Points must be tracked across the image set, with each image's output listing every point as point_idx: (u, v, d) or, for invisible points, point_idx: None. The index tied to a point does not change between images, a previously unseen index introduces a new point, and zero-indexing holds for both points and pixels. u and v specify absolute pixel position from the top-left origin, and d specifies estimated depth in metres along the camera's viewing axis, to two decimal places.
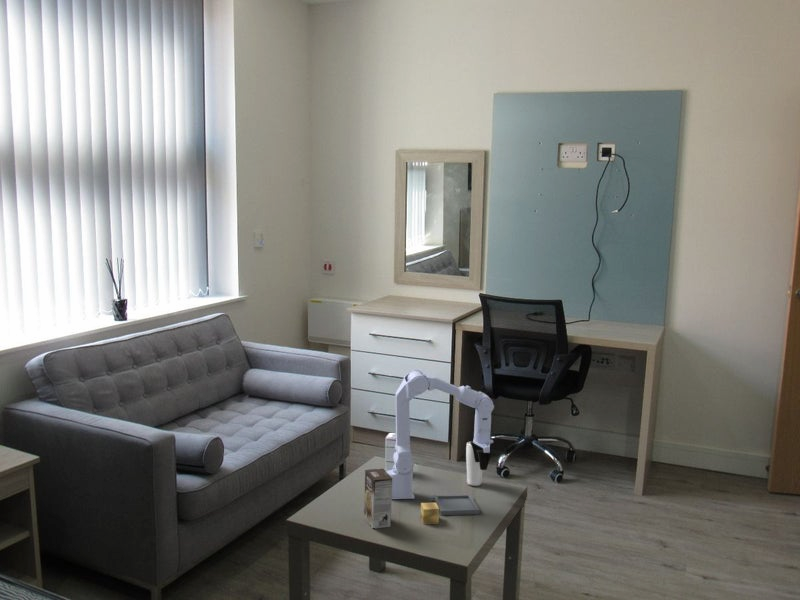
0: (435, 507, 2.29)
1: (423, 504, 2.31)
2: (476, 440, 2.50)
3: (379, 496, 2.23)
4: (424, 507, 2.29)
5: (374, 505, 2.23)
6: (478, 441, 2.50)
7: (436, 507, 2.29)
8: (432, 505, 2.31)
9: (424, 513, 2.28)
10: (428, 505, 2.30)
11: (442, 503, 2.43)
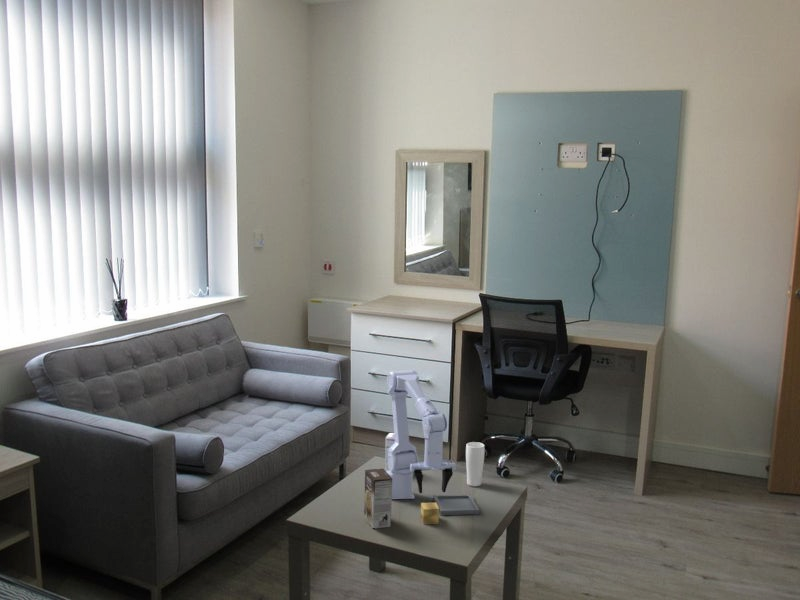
0: (435, 507, 2.29)
1: (423, 504, 2.31)
2: None
3: (379, 496, 2.23)
4: (424, 507, 2.29)
5: (374, 505, 2.23)
6: None
7: (436, 507, 2.29)
8: (432, 505, 2.31)
9: (424, 513, 2.28)
10: (428, 505, 2.30)
11: (442, 503, 2.43)
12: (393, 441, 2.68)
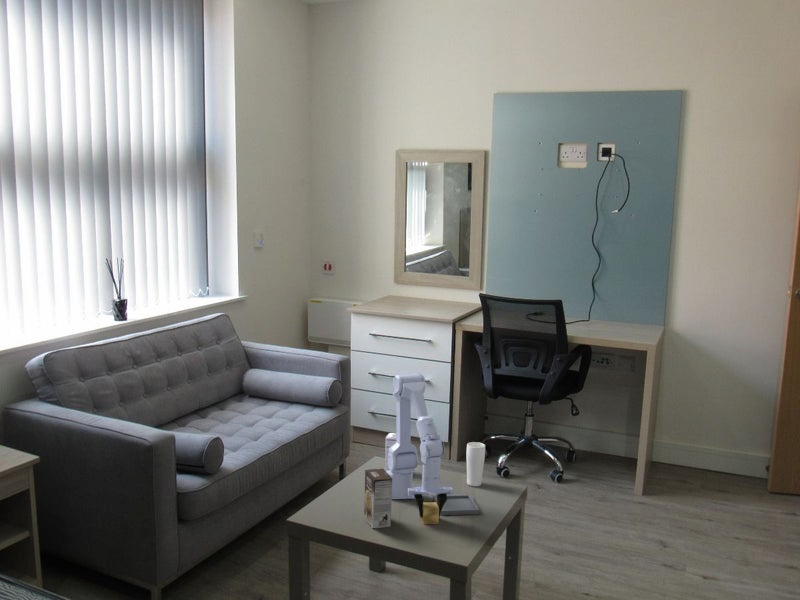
0: (435, 507, 2.29)
1: (423, 504, 2.31)
2: None
3: (379, 496, 2.23)
4: (424, 507, 2.29)
5: (374, 505, 2.23)
6: None
7: (436, 507, 2.29)
8: (432, 504, 2.31)
9: (424, 513, 2.28)
10: (428, 505, 2.30)
11: None
12: (393, 441, 2.68)
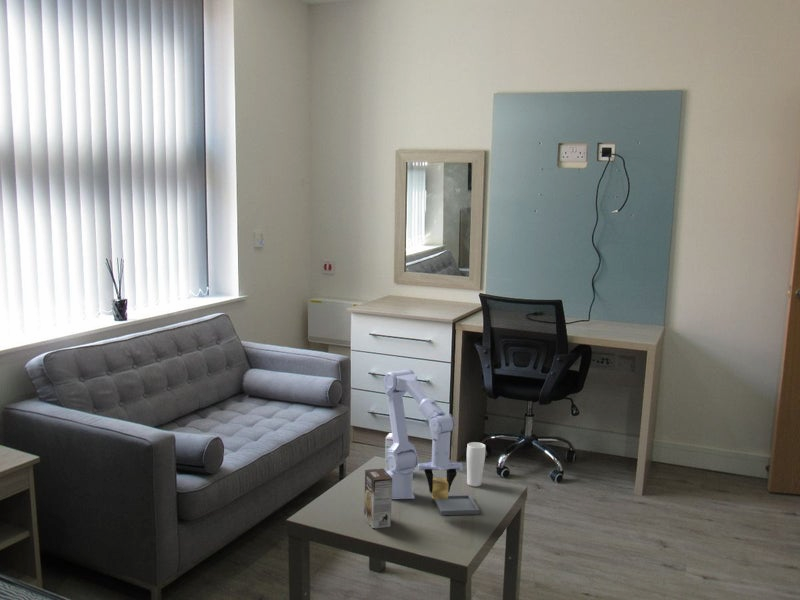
0: (445, 482, 2.32)
1: (433, 479, 2.34)
2: None
3: (379, 496, 2.23)
4: (434, 482, 2.32)
5: (374, 505, 2.23)
6: None
7: (446, 482, 2.32)
8: (442, 480, 2.34)
9: (434, 488, 2.31)
10: (438, 481, 2.33)
11: (442, 503, 2.43)
12: None
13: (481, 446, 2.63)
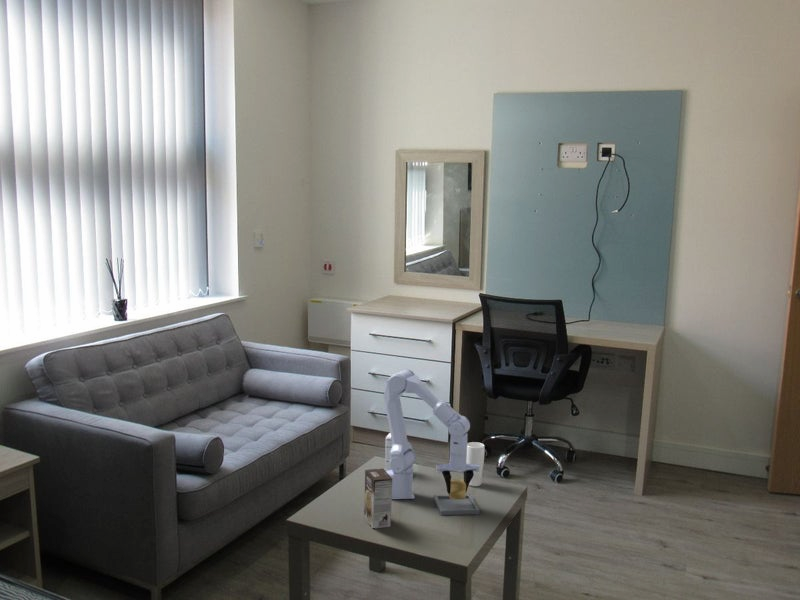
0: (462, 483, 2.40)
1: None
2: None
3: (379, 496, 2.23)
4: (452, 483, 2.40)
5: (374, 505, 2.23)
6: None
7: (463, 483, 2.40)
8: (459, 481, 2.42)
9: (452, 489, 2.39)
10: (455, 482, 2.41)
11: (442, 503, 2.43)
12: None
13: (480, 446, 2.63)
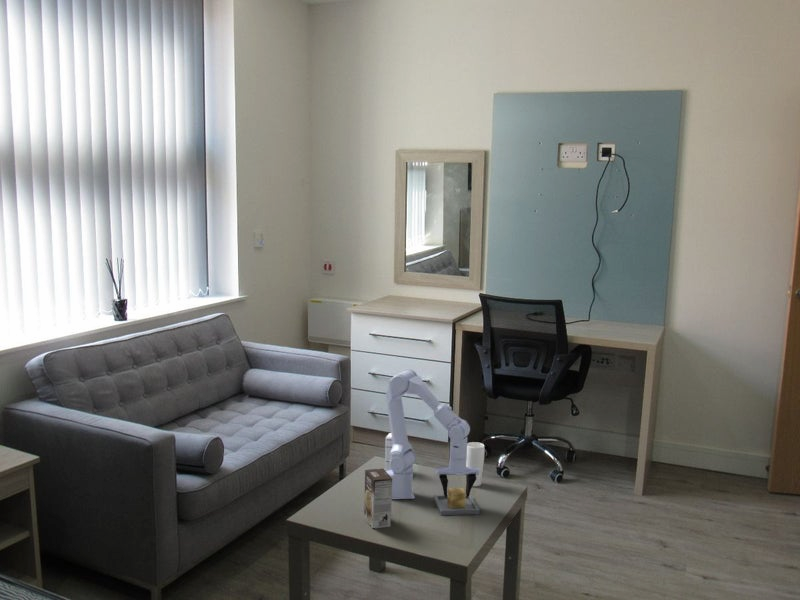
0: (462, 492, 2.41)
1: (450, 489, 2.42)
2: None
3: (379, 496, 2.23)
4: (451, 492, 2.40)
5: (374, 505, 2.23)
6: None
7: (463, 492, 2.41)
8: (459, 490, 2.42)
9: (452, 497, 2.39)
10: (455, 490, 2.42)
11: (442, 503, 2.43)
12: None
13: (480, 446, 2.63)
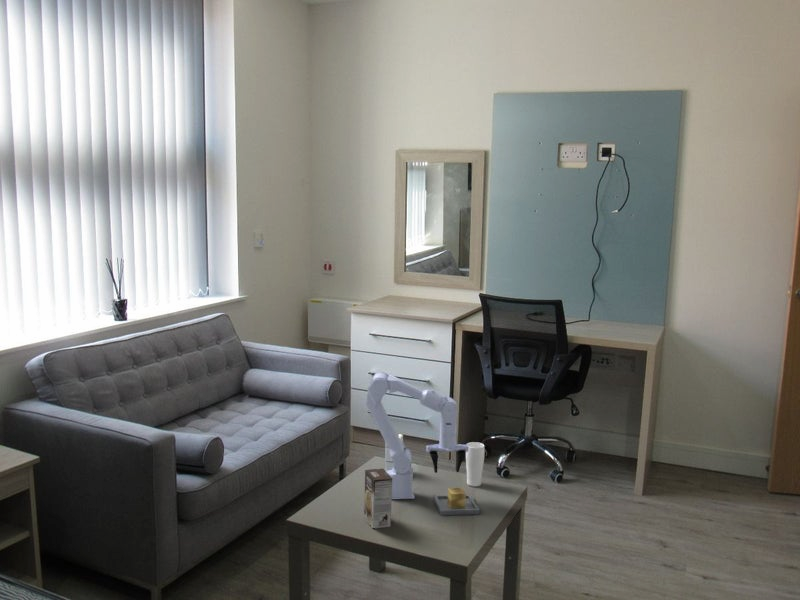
0: (462, 492, 2.41)
1: (450, 489, 2.42)
2: None
3: (379, 496, 2.23)
4: (451, 492, 2.40)
5: (374, 505, 2.23)
6: None
7: (463, 492, 2.41)
8: (459, 490, 2.42)
9: (452, 497, 2.39)
10: (455, 490, 2.42)
11: (442, 503, 2.43)
12: None
13: (480, 446, 2.63)
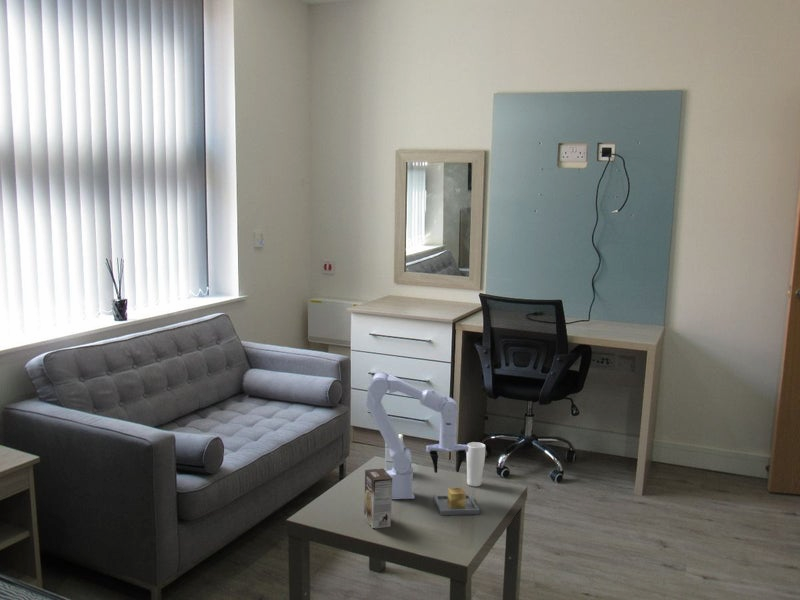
0: (462, 492, 2.41)
1: (450, 489, 2.42)
2: None
3: (379, 496, 2.23)
4: (451, 492, 2.40)
5: (374, 505, 2.23)
6: None
7: (463, 492, 2.41)
8: (459, 490, 2.42)
9: (452, 497, 2.39)
10: (455, 490, 2.42)
11: (442, 503, 2.43)
12: None
13: (481, 446, 2.63)
